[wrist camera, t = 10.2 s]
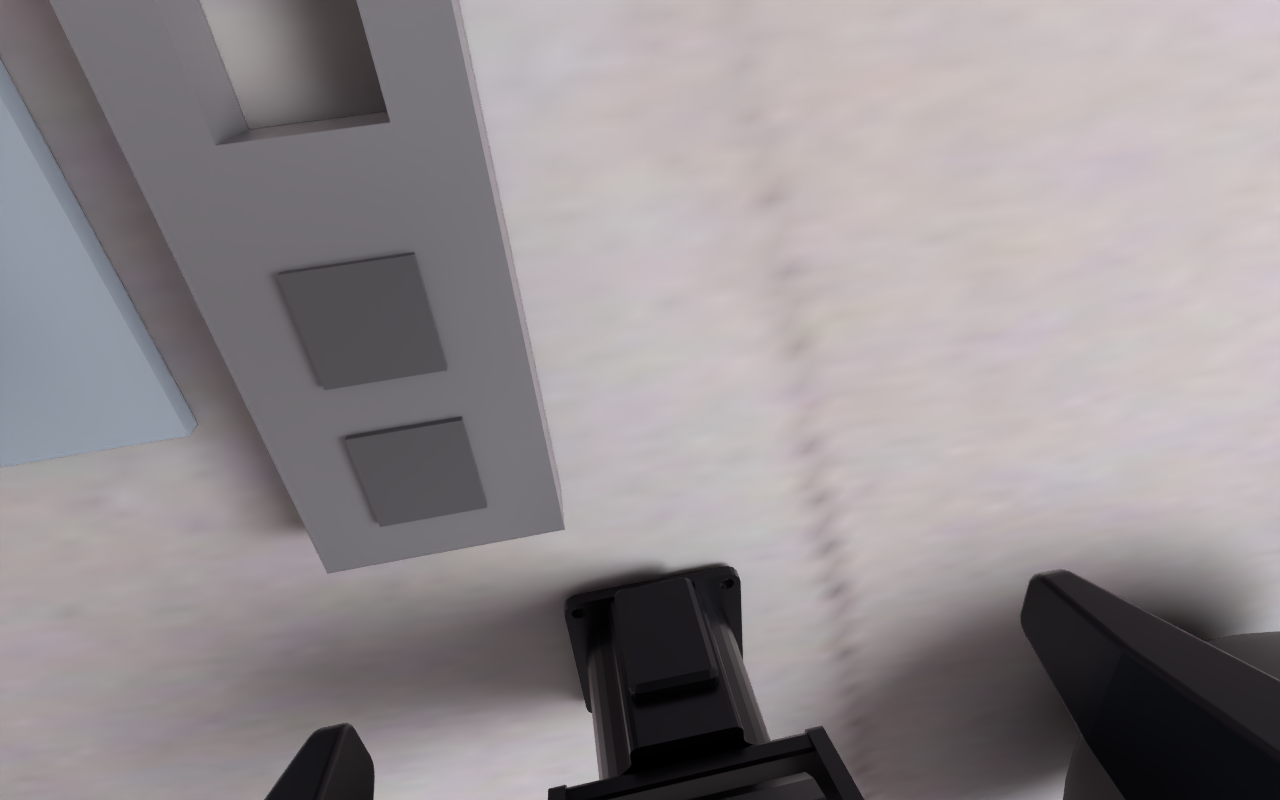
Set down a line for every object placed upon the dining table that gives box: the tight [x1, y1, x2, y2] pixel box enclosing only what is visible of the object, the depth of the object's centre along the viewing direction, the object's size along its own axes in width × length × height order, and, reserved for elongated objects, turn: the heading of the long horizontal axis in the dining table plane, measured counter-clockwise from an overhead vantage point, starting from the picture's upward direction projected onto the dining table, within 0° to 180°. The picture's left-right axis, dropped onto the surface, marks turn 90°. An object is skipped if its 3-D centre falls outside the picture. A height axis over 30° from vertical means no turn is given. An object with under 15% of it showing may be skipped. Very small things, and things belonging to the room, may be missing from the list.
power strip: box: [49, 0, 565, 573], centre depth 14 cm, size 24×7×3 cm, turn 5°
